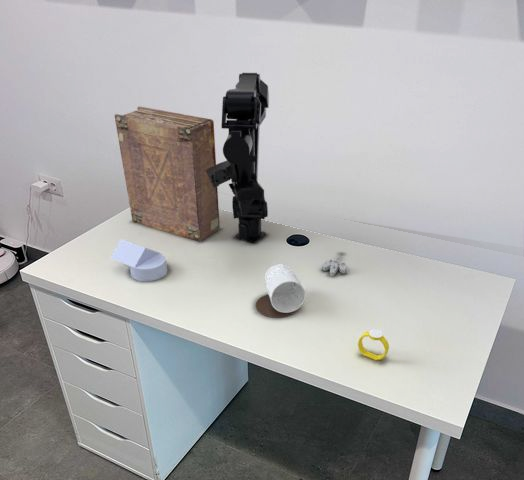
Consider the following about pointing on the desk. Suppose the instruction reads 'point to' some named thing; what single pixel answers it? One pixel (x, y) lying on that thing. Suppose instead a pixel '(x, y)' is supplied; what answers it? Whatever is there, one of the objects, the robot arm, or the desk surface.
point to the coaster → (269, 308)
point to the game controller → (334, 266)
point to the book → (169, 171)
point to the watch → (374, 335)
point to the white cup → (284, 289)
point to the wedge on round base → (140, 261)
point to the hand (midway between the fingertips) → (244, 215)
